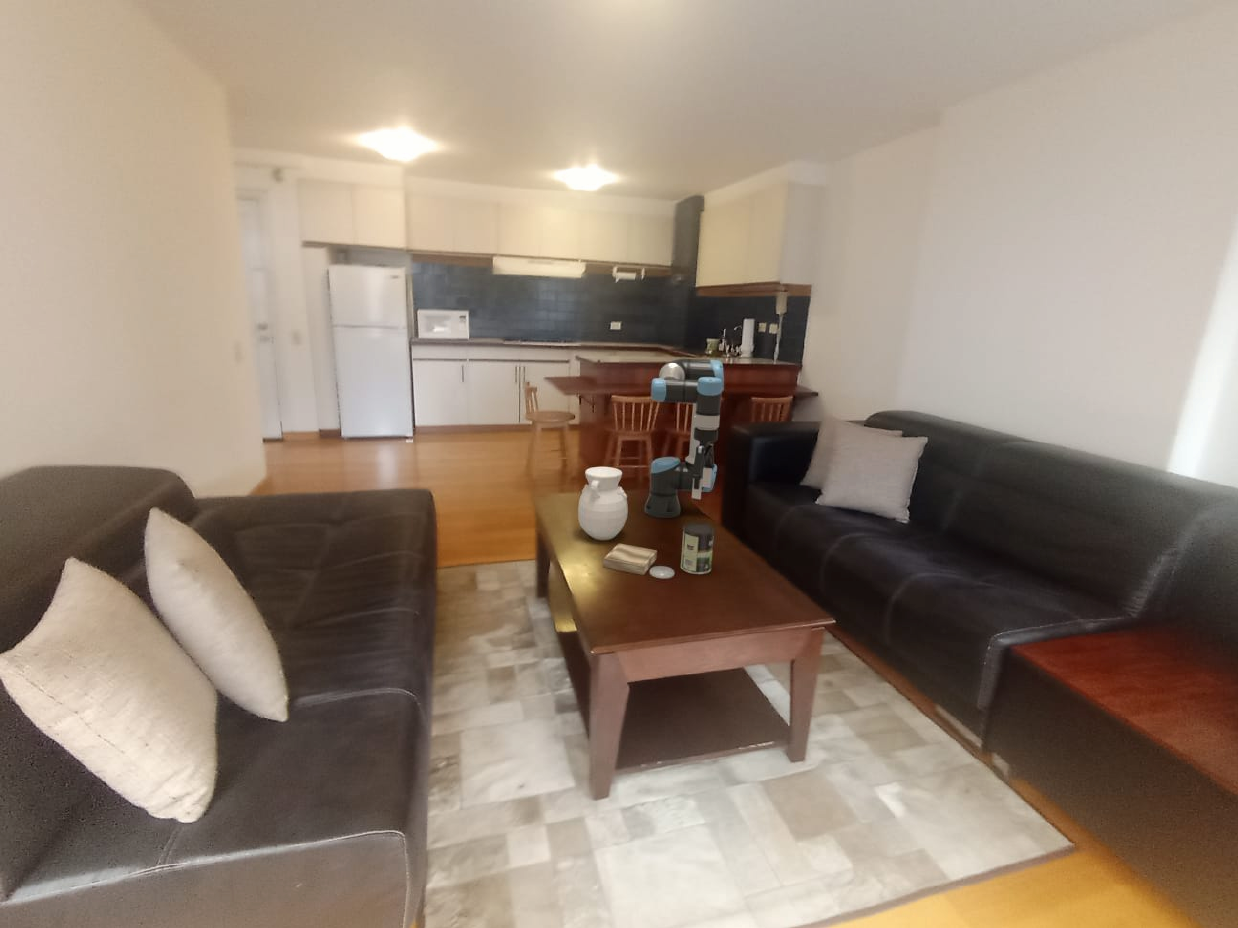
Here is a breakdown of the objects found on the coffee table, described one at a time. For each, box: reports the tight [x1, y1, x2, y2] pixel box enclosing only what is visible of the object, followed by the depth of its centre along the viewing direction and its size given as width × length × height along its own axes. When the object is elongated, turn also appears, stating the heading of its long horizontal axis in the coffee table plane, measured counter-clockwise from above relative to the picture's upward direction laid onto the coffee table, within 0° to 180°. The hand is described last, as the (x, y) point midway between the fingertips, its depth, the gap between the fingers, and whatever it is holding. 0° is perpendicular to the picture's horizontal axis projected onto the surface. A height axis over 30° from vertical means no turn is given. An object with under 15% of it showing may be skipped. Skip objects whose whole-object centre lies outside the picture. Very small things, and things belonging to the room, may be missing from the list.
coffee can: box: [680, 522, 716, 575], centre depth 191 cm, size 10×10×14 cm
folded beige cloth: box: [602, 543, 658, 576], centre depth 194 cm, size 14×14×3 cm
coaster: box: [649, 565, 675, 579], centre depth 187 cm, size 8×8×1 cm
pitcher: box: [577, 466, 629, 541], centre depth 213 cm, size 19×18×25 cm
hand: (701, 492), depth 185 cm, fingers open, 13 cm apart
